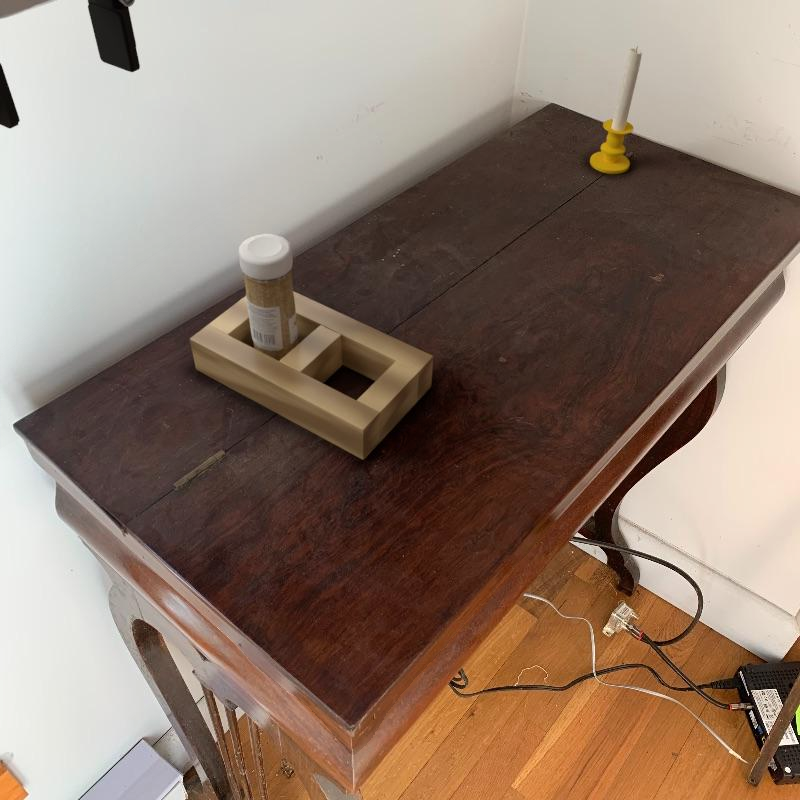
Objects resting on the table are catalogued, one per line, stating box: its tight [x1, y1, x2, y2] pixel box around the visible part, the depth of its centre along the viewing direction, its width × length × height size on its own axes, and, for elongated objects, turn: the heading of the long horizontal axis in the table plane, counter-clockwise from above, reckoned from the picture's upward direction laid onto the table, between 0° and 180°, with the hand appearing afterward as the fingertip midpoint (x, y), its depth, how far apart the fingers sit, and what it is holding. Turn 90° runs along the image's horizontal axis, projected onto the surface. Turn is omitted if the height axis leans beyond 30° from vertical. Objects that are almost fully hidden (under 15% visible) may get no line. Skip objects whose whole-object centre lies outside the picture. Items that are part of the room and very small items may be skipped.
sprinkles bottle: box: [238, 233, 299, 361], centre depth 74 cm, size 5×5×13 cm
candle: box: [589, 45, 643, 175], centre depth 102 cm, size 5×5×16 cm
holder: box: [189, 290, 434, 461], centre depth 76 cm, size 11×20×4 cm, turn 56°
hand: (63, 91), depth 52 cm, fingers open, 9 cm apart
